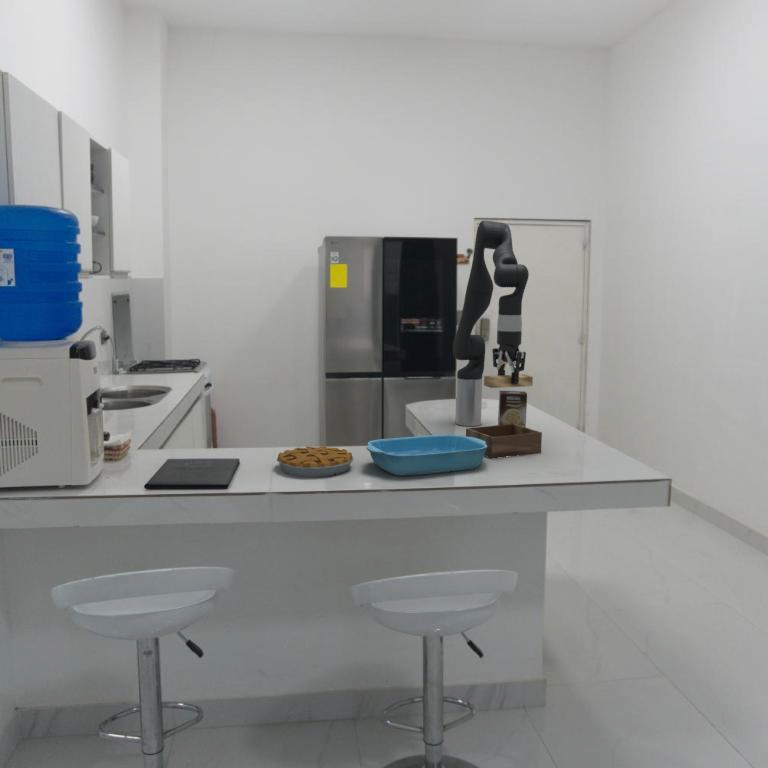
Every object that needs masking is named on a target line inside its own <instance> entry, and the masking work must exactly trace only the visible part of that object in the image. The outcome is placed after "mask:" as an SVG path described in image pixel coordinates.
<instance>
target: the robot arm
mask: <svg viewBox="0 0 768 768" xmlns="http://www.w3.org/2000/svg"><path fill="white" fill-rule="evenodd" d="M476 230H477V231H476V234H475V241H474V249H473V255H472V256H473V258H472V262H471V267H470V273H469V277H468V281H467V284H466V290H465V295H464V300H463V307H462V311H461V316H460V318H459V319H460V320H459V323H458V326H457V329H456V333H455V336H454V339H453V345H452V354H453V356H454V358H455V359H456V360H458V361H468V363H467V364H466V365H464V367H462V368H460V369H458V370H457V371H456V372H457V373H456V396H455V397H456V398H455V414H454V415H455V416H454V417H455V418H454V419H455V420H454V421H455V423H456V425H459V426H463V427H479V426H481V425H482V407H483V406H482V397H483V374H484V371H485V361H486V359H485V358H486V341H485V339H484V337H483V336H482V335H481V334H472V332H473V329H474V327H475V325H476V324H477V322H478V321H479V320H480V318H481V317H482V316H483V315H484V314H485V312H486V311H487V310H488V308H489V307H490V304H491V301H492V296H493V292H494V284H495V286H497V287H500V288H515V289H514V291H513V292H512V293H510V294H505V295H501V296H500V297H499V298H498V299H499V300H498V316H497V321H496V322H497V325H496V326H497V328H496V329H497V331H496V344H497V345H498V346H499V347H496V348H492V350H491V351H492V365H493V368H496V370H497V375H506V370H505V369H506V366H507V364H508V366H509V367H510V370H511V374H510V375H511V384H513V385H515V384H518V382H519V375H520V372H522V371H523V372H524V371H525V364H526V356H527V353H526V351H520V347H519V346H521V345H522V336H523V335H522V334H523V333H522V330H523V321H522V319H523V318H522V307H523V306H522V303H523V298H524V293H525V289H526V288H527V283H528V280H529V274H530V273H529V269H528V267H527V266H526V265H525V264H522V263H521V264H519V262H518V260H517V257H516V256H515V253H514V250H513V240H512V239H513V237H512V231H511V228H510V226H509V225H508V223H505V222H499V221H493V220H482V221H480V222H479V224H478V226H477V229H476ZM485 249H486V250H487V249H489V250H493V254H492V262H493V264H494V267H495V268H494V271H493V280H492V276H491V274H490V272H489V270H488V266H487V263H486V261H485ZM493 281H494V282H493Z"/></svg>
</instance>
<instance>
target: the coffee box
mask: <svg viewBox="0 0 768 768" xmlns="http://www.w3.org/2000/svg"><path fill="white" fill-rule="evenodd" d="M498 393H499V396H498V398H499V399H498V412H497V414H498V417H497V418H498V419H497V425H505V424H516V425H519V426H523V427H526V428H527V424H526V423H527V409H528V408H527V406H528V393H527V392H526V391H521V390H520V391H518V390H517V391H516V390H499V391H498Z"/></svg>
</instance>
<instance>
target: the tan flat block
mask: <svg viewBox="0 0 768 768" xmlns="http://www.w3.org/2000/svg"><path fill="white" fill-rule="evenodd" d="M533 379H534V377H533V376H531V375H528V374H525V373H524V374H519V382H518V384H515V385H513V384H511V374H505V375H498V374H496V375H484V376H483V386H485V387H487V388H490V389H500V388H515V387H516V388H519V387H520V388H523V387H533Z"/></svg>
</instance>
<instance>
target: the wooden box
mask: <svg viewBox="0 0 768 768" xmlns="http://www.w3.org/2000/svg"><path fill="white" fill-rule="evenodd" d="M542 434H543V433H542V431H538V430H536V429H533V428H528V427H527V426H526V427H523V426H519V425H516V424H505V425H498V424H497V425H488V426H487V425H486V426H475V427H468V428H465V436H467V437H473V438H478V439H481V440H483V441H485V442H486V445H487V449H486V452H485V454H484V455H486V456H488V457H487V458H489V457H490V458H489V459H491V458H495V459H499V458H498V457H503V458H507V457H506V456H511V457H518V456H517V455H519V456H525V455H526V454H527V455H533V454H534V453H535V454H542V439H543V438H542V437H543V435H542ZM535 454H534V455H535ZM486 456H485V457H486Z"/></svg>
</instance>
